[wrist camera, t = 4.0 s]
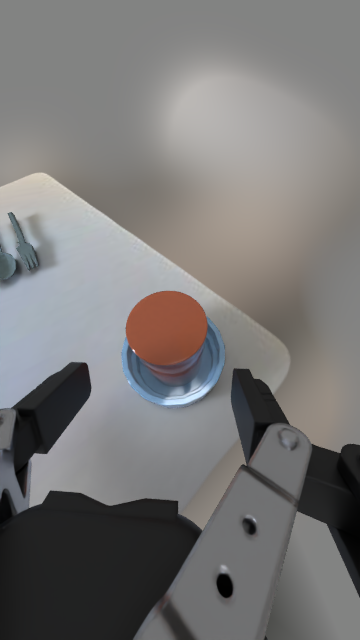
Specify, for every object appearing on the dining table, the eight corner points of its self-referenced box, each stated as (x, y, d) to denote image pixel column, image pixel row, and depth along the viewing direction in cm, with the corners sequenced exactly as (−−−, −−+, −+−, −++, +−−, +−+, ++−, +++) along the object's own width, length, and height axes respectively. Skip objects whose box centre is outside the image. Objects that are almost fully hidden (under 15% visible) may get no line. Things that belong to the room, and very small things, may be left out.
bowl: (231, 342, 22) (239, 327, 19) (196, 427, 19) (197, 429, 15) (160, 311, 25) (154, 292, 21) (115, 382, 21) (100, 373, 17)
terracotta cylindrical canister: (210, 347, 21) (220, 307, 14) (187, 397, 19) (184, 381, 12) (165, 327, 23) (152, 280, 15) (138, 371, 21) (108, 342, 13)
